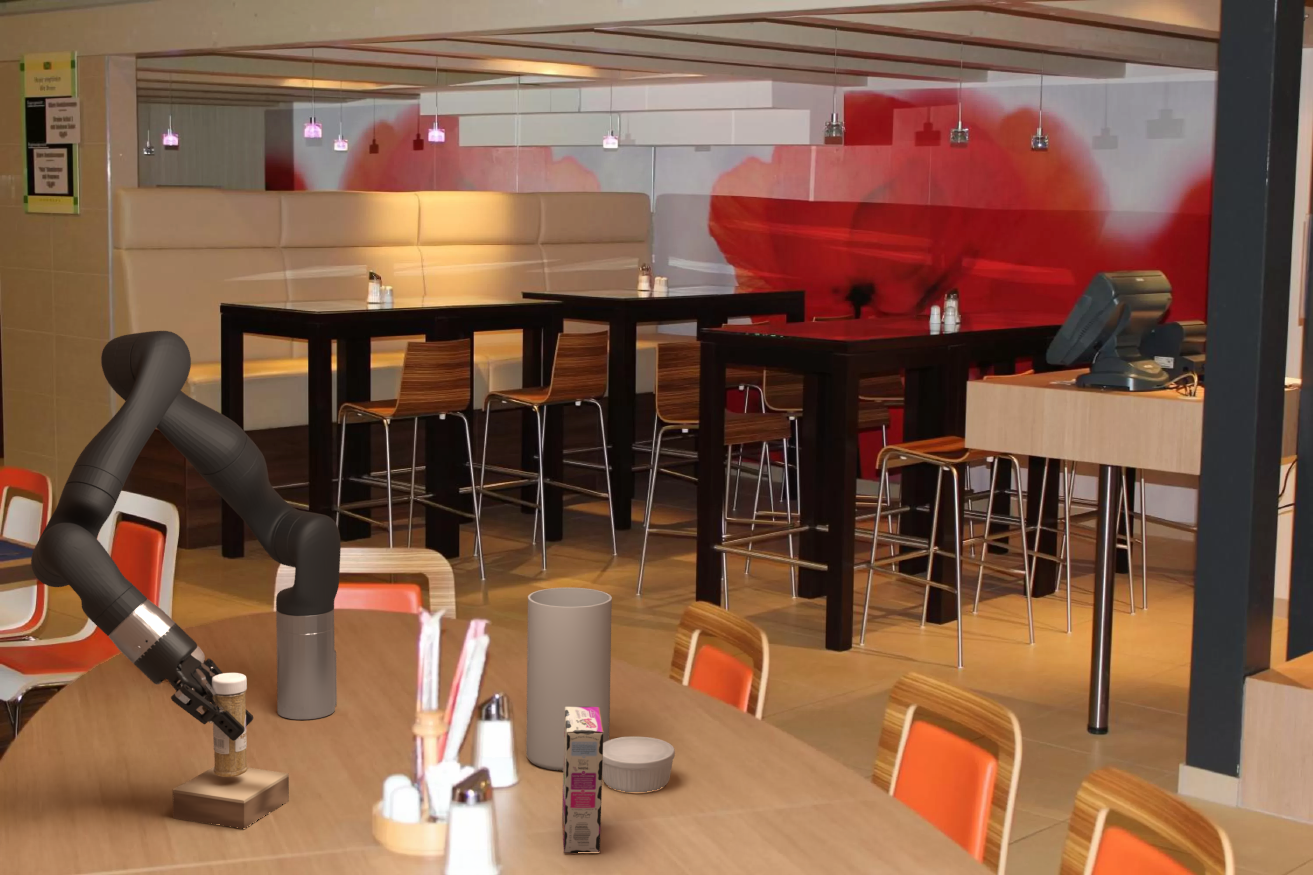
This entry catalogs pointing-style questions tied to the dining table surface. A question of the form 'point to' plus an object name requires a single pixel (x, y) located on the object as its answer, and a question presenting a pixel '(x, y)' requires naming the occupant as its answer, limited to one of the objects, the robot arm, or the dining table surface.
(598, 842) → the candy bar box
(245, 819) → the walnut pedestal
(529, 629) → the cylinder vase
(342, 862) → the dining table surface
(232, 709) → the spice jar
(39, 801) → the dining table surface
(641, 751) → the ramekin
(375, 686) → the dining table surface
